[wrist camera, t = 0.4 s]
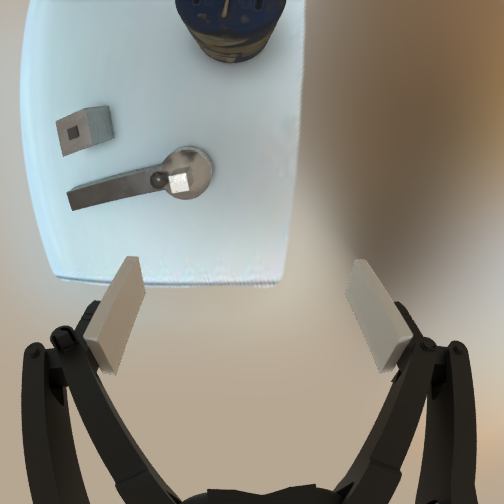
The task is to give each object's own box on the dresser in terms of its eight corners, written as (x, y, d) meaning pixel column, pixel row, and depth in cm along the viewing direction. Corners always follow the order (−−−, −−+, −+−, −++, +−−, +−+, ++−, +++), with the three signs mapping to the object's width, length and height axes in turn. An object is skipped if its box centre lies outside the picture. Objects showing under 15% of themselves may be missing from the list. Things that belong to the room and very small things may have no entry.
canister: (187, 52, 30) (147, 17, 14) (215, -1, 26) (199, -63, 10) (252, 74, 32) (262, 48, 16) (279, 20, 28) (308, -33, 12)
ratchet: (71, 176, 37) (48, 190, 31) (208, 142, 37) (201, 150, 30) (83, 214, 41) (62, 233, 34) (216, 188, 40) (211, 205, 34)
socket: (80, 116, 33) (54, 121, 26) (108, 105, 32) (84, 108, 26) (86, 146, 35) (62, 157, 29) (114, 137, 35) (92, 145, 29)
